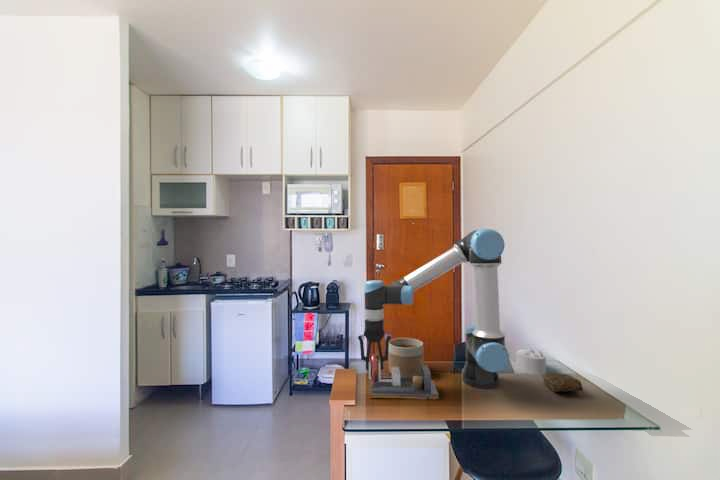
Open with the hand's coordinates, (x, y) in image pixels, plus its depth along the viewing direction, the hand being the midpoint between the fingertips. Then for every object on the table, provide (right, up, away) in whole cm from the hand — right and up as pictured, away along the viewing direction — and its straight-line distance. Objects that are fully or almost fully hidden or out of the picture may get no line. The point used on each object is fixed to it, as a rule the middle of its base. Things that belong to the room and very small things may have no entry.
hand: (374, 377), depth 133 cm
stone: (+75, -5, 0) cm, 75 cm away
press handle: (+4, -3, 0) cm, 5 cm away
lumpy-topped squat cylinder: (+75, -5, +21) cm, 78 cm away
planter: (+15, -6, +19) cm, 25 cm away
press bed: (+11, -5, -1) cm, 13 cm away
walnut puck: (+17, -3, -1) cm, 18 cm away
